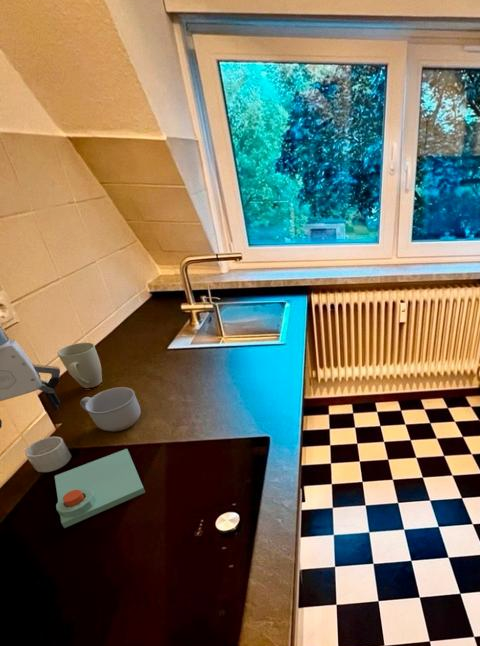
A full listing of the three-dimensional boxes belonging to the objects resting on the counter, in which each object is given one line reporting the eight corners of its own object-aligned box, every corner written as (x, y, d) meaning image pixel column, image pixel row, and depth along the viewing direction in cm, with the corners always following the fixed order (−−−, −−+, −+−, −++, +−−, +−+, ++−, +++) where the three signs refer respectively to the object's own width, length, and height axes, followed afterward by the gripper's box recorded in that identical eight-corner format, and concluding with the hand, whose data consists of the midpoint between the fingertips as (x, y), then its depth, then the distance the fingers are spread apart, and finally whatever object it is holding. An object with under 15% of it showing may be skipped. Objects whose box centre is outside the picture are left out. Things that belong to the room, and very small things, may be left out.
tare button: (67, 509, 72) (63, 504, 71) (65, 500, 74) (61, 494, 73) (85, 502, 73) (82, 496, 72) (83, 492, 75) (80, 487, 74)
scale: (64, 528, 71) (57, 517, 70) (57, 480, 82) (50, 470, 80) (145, 492, 78) (140, 482, 77) (129, 453, 89) (124, 442, 87)
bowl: (37, 478, 83) (25, 460, 80) (35, 462, 87) (24, 444, 85) (73, 464, 86) (64, 447, 83) (70, 449, 91) (61, 432, 88)
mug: (66, 389, 115) (47, 353, 108) (99, 375, 122) (84, 340, 115) (85, 399, 110) (67, 361, 103) (119, 383, 117) (104, 347, 110)
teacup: (154, 416, 101) (143, 390, 97) (120, 441, 93) (107, 414, 88) (113, 407, 105) (102, 382, 101) (77, 431, 97) (63, 404, 93)
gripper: (-88, 362, 64) (-27, 442, 73) (38, 333, 72) (78, 408, 82) (-81, 348, 69) (-24, 424, 78) (36, 322, 77) (74, 394, 87)
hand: (28, 416), depth 80 cm, fingers open, 9 cm apart
